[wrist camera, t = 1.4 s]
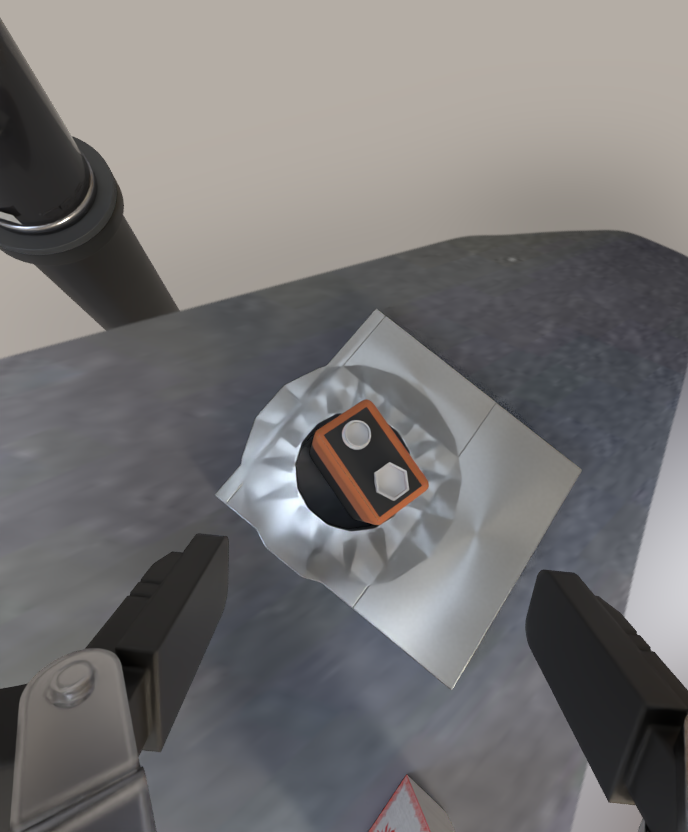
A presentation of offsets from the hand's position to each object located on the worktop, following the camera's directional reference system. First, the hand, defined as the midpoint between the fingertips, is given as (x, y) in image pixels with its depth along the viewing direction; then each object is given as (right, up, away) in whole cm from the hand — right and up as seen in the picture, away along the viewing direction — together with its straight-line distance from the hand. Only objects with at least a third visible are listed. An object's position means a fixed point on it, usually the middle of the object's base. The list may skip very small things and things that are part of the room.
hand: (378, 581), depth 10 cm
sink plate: (+4, -1, +23) cm, 23 cm away
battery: (0, 0, +22) cm, 22 cm away
